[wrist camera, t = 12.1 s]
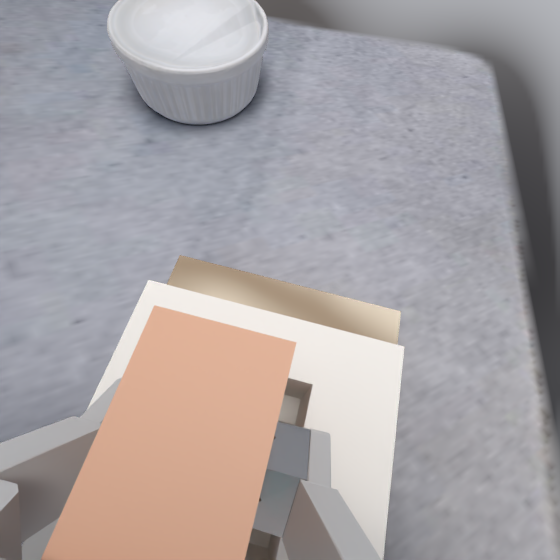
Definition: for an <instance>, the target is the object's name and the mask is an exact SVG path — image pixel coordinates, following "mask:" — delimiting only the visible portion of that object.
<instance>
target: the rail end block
mask: <svg viewBox="0 0 560 560" xmlns="http://www.w3.org/2000/svg"><path fill="white" fill-rule="evenodd" d="M295 347H296V342H293V341H289V340H285V339H282V338H278V337H274V336H270V335H266V334H262V333H259V332H255V331H251V330H247V329H243V328H240V327H236V326H232V325H228V324H224V323H220V322H217V321H213V320H209V319H205V318H201V317H198V316H194V315H190V314H186V313H182V312H179V311H175V310H171V309H167V308H163V307H159V306H156V305H154V307H153V309H152V312H151V314H150V316H149V318H148V320H147V323H146V325H145V327H144V329H143V332H142V334H141V336H140V338H139V341H138V343H137V345H136V347H135V350H134V352H133V354H132V356H131V359H130V361H129V363H128V365H127V367H126V370H125V372H124V374H123V376H122V379H121V381H120V383H119V385H118V388H117V390H116V392H115V394H114V397H113V399H112V401H111V403H110V405H109V408H108V410H107V412H106V414H105V417H104V419H103V421H102V423H101V426H100V428H99V430H98V432H97V435H96V437H95V439H94V441H93V444H92V446H91V448H90V450H89V452H88V455H87V457H86V459H85V461H84V464H83V466H82V468H81V470H80V473H79V475H78V477H77V479H76V482H75V484H74V486H73V488H72V491H71V493H70V495H69V497H68V499H67V502H66V504H65V506H64V508H63V511H62V513H61V515H60V517H59V520H58V522H57V524H56V526H55V529H54V531H53V533H52V535H51V538H50V540H49V542H48V544H47V546H46V549H45V551H44V553H43V555H42V558H41V560H245V557H246V553H247V548H248V544H249V540H250V536H251V532H252V527H253V523H254V519H255V515H256V511H257V506H258V502H259V498H260V494H261V490H262V485H263V481H264V477H265V473H266V469H267V464H268V460H269V456H270V452H271V448H272V443H273V439H274V435H275V431H276V426H277V422H278V418H279V414H280V410H281V405H282V401H283V397H284V393H285V389H286V384H287V380H288V376H289V372H290V368H291V363H292V359H293V355H294V351H295Z"/></svg>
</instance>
